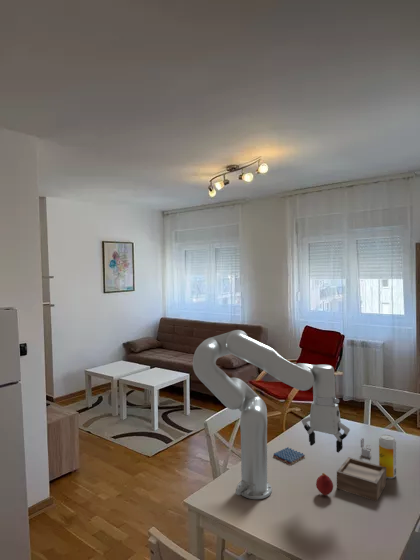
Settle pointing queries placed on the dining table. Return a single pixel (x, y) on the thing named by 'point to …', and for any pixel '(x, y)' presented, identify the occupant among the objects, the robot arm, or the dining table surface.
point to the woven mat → (289, 456)
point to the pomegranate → (324, 484)
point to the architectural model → (365, 449)
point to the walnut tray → (361, 478)
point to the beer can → (388, 454)
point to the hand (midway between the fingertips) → (325, 447)
